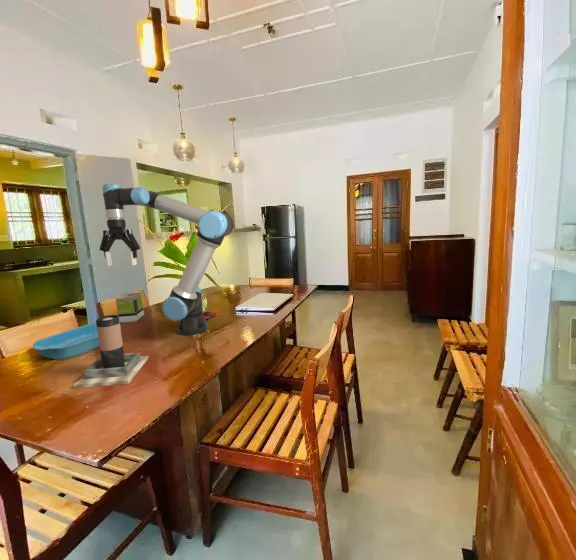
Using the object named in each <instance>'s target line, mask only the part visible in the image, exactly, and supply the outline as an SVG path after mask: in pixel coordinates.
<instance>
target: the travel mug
mask: <svg viewBox="0 0 576 560" xmlns="http://www.w3.org/2000/svg"><path fill="white" fill-rule="evenodd" d="M95 323H96V325H97V333H98V340H99V347H98V348H99V352H100V353H99V354H100V357H101V359H102V365H103V369H104V368H116V367H124V366H125V361H124V354H125V353H124V343H123V337H122V330H121V328H122V327H121V328H120V325H121V323H120V321H119V316H118V314H117V315H116V314H112V315H111V314H110V315H103V316H100V317H97V318H96V321H95Z"/></svg>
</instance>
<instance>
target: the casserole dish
mask: <svg viewBox="0 0 576 560" xmlns="http://www.w3.org/2000/svg"><path fill="white" fill-rule="evenodd" d="M120 328H122V326H121V324H120ZM32 345H33V347H32V348H33V350H35V351H36V352H37V353H38V354H39V355H40V356H41V357H44V358H46V359H51V358H52V360H57V359H58V360H57V361H61V360H60V359H63V360H67V358H68V359H71V357H72V358H75V357H78V356H80V355H83V354H85V352H86V353H87V352H90V350H91V351H93V350H95V348H96V349H98V348H99V340H98V333H97V325H96V322H92V323H88V324H86V325H82V326H77V327H75V328H72V329H68V330H66V331H62V332H59V333H55V334H52V335H49V336H46V337H43V338H41V339H38V340H36V341H33V343H32ZM82 353H83V354H82ZM77 355H78V356H77ZM74 356H75V357H74Z"/></svg>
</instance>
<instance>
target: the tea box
mask: <svg viewBox="0 0 576 560" xmlns="http://www.w3.org/2000/svg"><path fill="white" fill-rule="evenodd" d="M143 303H144V302H143V295H142V292H140V291H139V292H129V293H124V294H122V295H120V296H118V297H116V298H115V304H116V310H117V315H118V316H119V321H120V322H121V323H132V322H133V323H134V322H137V321H138V320H140V319H141V318H142V317H143V316H145V311H144V304H143Z"/></svg>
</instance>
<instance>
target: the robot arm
mask: <svg viewBox="0 0 576 560" xmlns="http://www.w3.org/2000/svg"><path fill="white" fill-rule="evenodd" d="M102 196H103V201H104V202H103V203H104V207H105V208H104V209H105V210H104V211H105V216H106V217H105V218H106V219H107V220H106V225H107V228H108V230H107V229H106V230H104V229H103V231H102V238H101V242H100V245H99V251H102V252H103V255H104V259H105V261H106V266H107V267H108V266H109V267H110V266H113V259H112V254H111V252H112V251H111V248H112V246H113V244H114V242H115V241H118V240H120V241H122V242H123V243H124V244H125V245H126V247H128V249H130V251H129V256H130V264H131V266H136V265H137V264H138V263H137V258H138V254H137V252H138V250H140V249H141V247H140V244H139V243H138V241H137V239H136V237H135V235H134V234H133V230H132V229H131V228H129V229H128V228H127V229H126V227H127V225H126V219H125V218H126V217H125V210H124V208H125V207H124V206H142V207H146V208H147V207H148V208H151V209H154V210H157V211H160V212H162V213H165V214H169V215H171V216H175V217H177V218H180V219H183V220H185V221H188V222H190V223H191V222H192V223H195V224H197V228H198V230H197V232H196V235H195V236H196V237H197V241H196V243H195V245H194V248H193V250H192V253H191V255H190V257H189V259H188V261H187V263H186V266H185V268H184V270H183V272H182V275H181V277H180V279H179V281H178V283H177V285H175V286H173V288H172V289H171V292H170V293H169V296H168V297H167V298H165V300H164V301H163V302H162V305H161V309H162V313H163V314H164V316H165V317H166V318H167V319H169V320H170V321H175V322H177V321H178V323H177V328H176V329H177V334H179V335H182V334H183V335H182V336H191V335H190V334H193V335H197V334H196V333H199V334H201V333H200V332H202V333H204V332H203V331H205V330H206V329H207V328H208V329H209V325H208V322H207V320H206V318H205V316H204V309H203V308H204V307H203V298H202V297H203V295H202V294H203V292H202V290H201V287H199V285H200V284H201V281H202V280H203V277H204V274H205V272H206V270H207V268H208V266H209V263H210V261H211V259H212V257H213V255H214V252H215V250H216V248H218V247H221V245H222V243H223V241H224V239H225V238H226V237H227V236H229V235H230V234H231V233H232V232H233V230H234V220H233V218H232V217H231V216H230V215H229V214H228V213H226V212H223V211H218V210H213V209H209V210H206V209H203V208H201V207H198V206H194V205H193V204H190V203H186V202H183V201H180V200H177V199H174V198H172V197H169V196H166V195H162V194H159V193H157V192H156V191H153V190H147V189H146V188H145V187H138V186H136V187H127V188H126V187H125V188H122V186H121V185H120V184H118V183H105V184H103V186H102ZM208 329H207V330H208ZM207 330H206V331H207ZM206 331H205V332H206Z"/></svg>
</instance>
